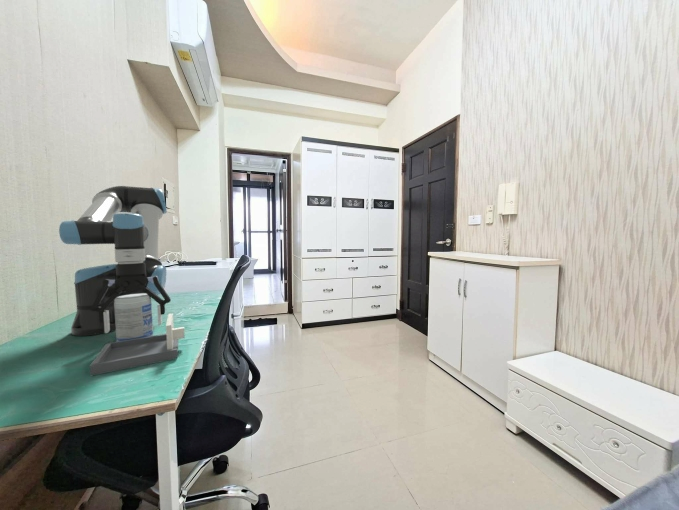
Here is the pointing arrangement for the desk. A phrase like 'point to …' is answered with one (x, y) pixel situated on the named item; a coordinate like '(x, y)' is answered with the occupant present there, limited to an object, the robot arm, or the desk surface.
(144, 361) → the gray tray
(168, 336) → the pusher
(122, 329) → the supplement tub
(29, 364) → the desk surface
